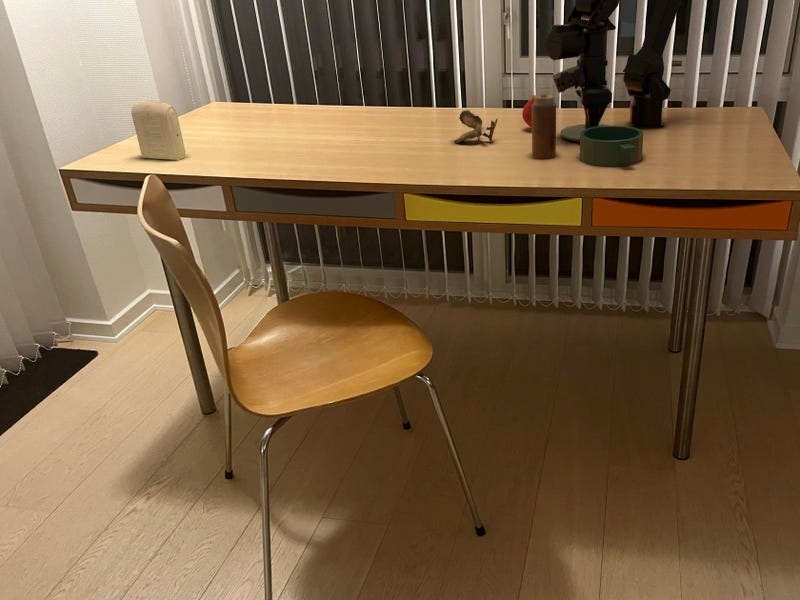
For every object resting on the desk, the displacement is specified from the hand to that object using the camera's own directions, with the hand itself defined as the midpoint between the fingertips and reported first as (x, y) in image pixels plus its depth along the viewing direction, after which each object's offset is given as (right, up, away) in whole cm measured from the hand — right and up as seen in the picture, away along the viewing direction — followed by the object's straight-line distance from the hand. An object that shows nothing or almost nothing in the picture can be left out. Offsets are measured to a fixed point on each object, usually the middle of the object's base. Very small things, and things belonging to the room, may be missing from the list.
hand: (590, 127), depth 179 cm
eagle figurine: (-26, -3, +1) cm, 26 cm away
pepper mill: (-11, -9, -11) cm, 18 cm away
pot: (+2, -10, -14) cm, 17 cm away
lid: (0, -1, +1) cm, 1 cm away
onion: (-12, +2, +8) cm, 15 cm away
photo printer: (-96, -7, +1) cm, 96 cm away
